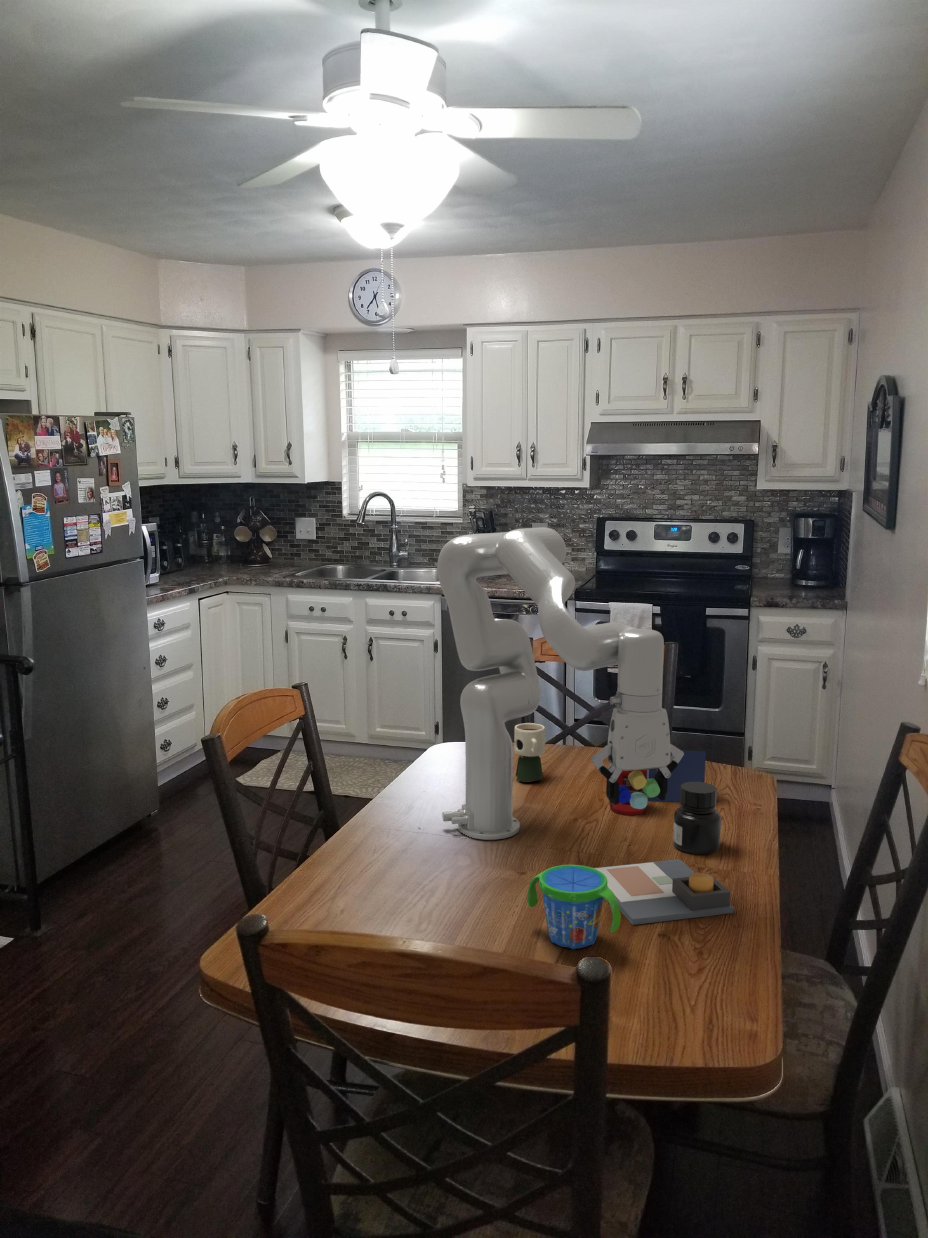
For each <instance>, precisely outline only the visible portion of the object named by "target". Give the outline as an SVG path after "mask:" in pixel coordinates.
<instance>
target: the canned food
mask: <svg viewBox="0 0 928 1238" xmlns="http://www.w3.org/2000/svg"><path fill="white" fill-rule="evenodd" d="M633 771H635V770H629V771H623V770H622V772H621V773H620V775H619V777H618V778H617V782H619V785H625V786H627V788H628V790H629V792H630V794H632V793H634V792H641V793H644V791H643V789H642V788H641V789H638V790H637V789H634V788H633V786H632V785H631V783H630V781H629V779H628V775H629V774H630V773H631V772H633ZM640 771H641V772H642V773H643V775H644V777H645V778H646V780H647V769H643V770H640ZM644 794H645V793H644ZM608 801H609V803H608V805H609V808H610V810H611V811H613V812H614V813H616V814H618V815H619V814H620V815H623V816H624V815H625V816H636V815H641V814H643V813H644V812H645V810H646V807H647V806H646V807H645V808H643V809H636V808H633V807H632V806H631V804H630V800H629V801H628V802H626V803H618V804H617V805H614V804H613V803H612V802H611V801H610V800H609V799H608Z"/></svg>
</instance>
